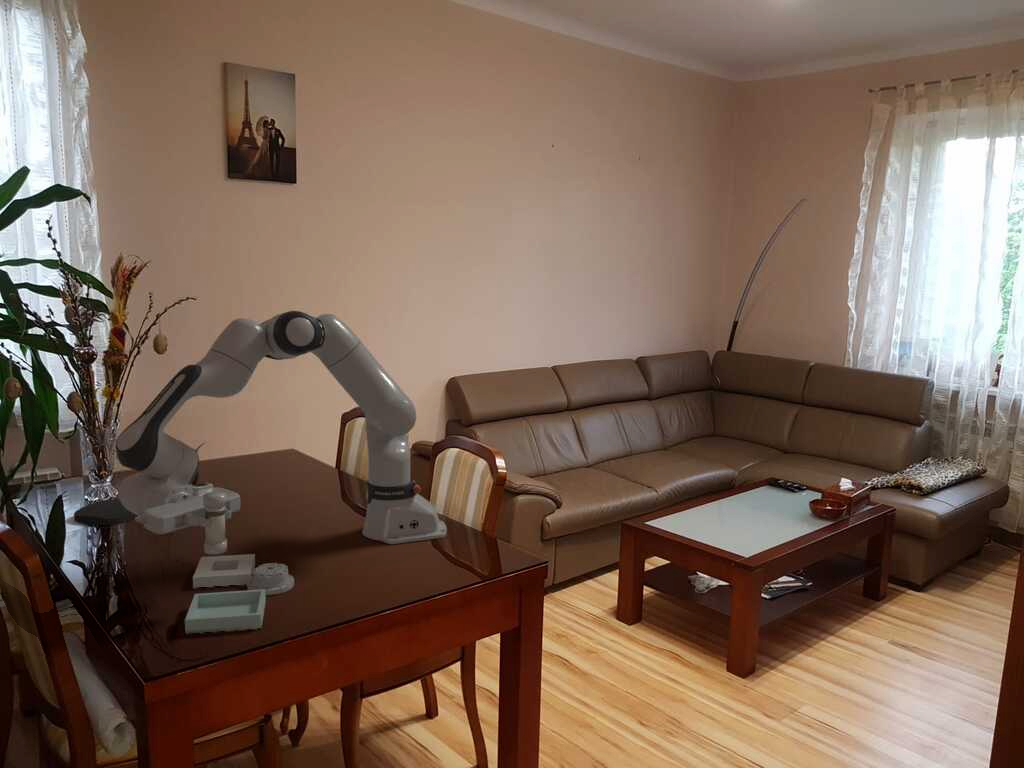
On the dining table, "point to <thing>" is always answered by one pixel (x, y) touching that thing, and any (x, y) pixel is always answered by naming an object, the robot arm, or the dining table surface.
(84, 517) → the media streaming box
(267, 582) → the mechanical component
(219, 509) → the grey peg
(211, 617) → the parts tray
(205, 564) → the grey square frame
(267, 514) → the dining table surface
